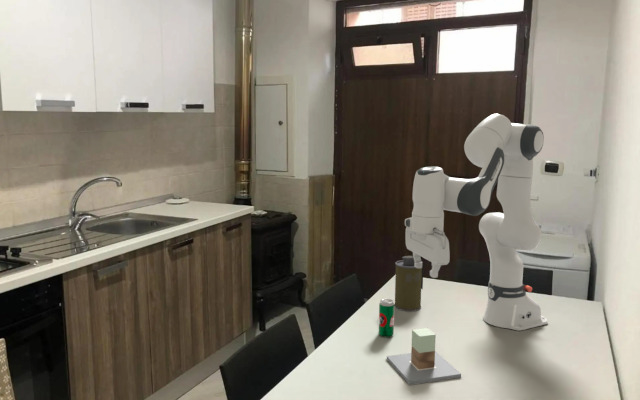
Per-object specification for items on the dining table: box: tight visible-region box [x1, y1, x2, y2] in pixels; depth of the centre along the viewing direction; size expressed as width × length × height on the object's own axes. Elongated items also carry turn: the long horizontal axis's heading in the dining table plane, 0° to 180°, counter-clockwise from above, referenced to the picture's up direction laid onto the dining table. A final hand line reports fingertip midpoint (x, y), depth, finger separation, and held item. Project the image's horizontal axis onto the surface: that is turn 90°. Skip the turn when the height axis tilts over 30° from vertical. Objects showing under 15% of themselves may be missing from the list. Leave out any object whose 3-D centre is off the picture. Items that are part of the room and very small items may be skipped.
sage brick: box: [411, 327, 437, 353], centre depth 151 cm, size 5×5×5 cm
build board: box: [386, 350, 462, 386], centre depth 152 cm, size 16×16×1 cm
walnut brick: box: [410, 346, 436, 369], centre depth 152 cm, size 5×5×5 cm
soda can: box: [378, 298, 395, 338], centre depth 175 cm, size 5×5×12 cm
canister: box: [394, 255, 424, 312], centre depth 202 cm, size 11×10×20 cm
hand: (425, 272), depth 148 cm, fingers open, 8 cm apart
